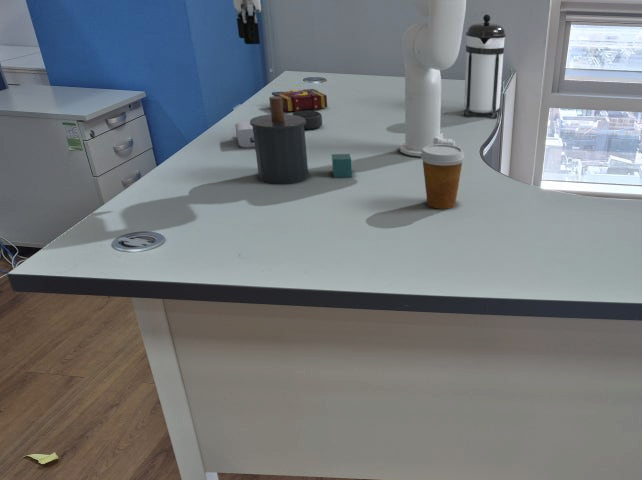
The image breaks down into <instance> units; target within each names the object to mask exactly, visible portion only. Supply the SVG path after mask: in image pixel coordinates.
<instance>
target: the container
mask: <svg viewBox="0 0 642 480" xmlns="http://www.w3.org/2000/svg"><path fill="white" fill-rule="evenodd" d="M253 134H254V142H255V147H254V148H255V157H256V164H257V171H258V178H259V180H260V181H262V182H264V183H267V184H274V185H288V184H289V185H290V184H296V183H300V182H302V181H305V180H307V179H308V178H309V168H308V167H309V166H308V155H307V144H306V131H305V129H304V125H303V126H301V127H298V128H293V129H283V130H269V129H260V128H256V127H253Z"/></svg>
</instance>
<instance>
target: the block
mask: <svg viewBox="0 0 642 480" xmlns="http://www.w3.org/2000/svg"><path fill="white" fill-rule="evenodd" d="M331 164H332V165H331V166H332V176H333V178H352V177H353V168H352V167H353V166H352V165H353V164H352V157H351V154H350V153H333V154H332V153H331Z"/></svg>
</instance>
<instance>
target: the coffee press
mask: <svg viewBox="0 0 642 480" xmlns="http://www.w3.org/2000/svg"><path fill="white" fill-rule="evenodd" d="M482 18H483V21H484V22H476V23H473V24H471V25H469V26H468V28H467V31H465V36H466V44H465V52H466V53H465V54H466V55H465V72H464V73H465V75H464V78H465V79H464V97H463V98H464V103H463V104H464V105H463V106H464V111H463V116H464V117H467V118H468V117H469V116H470V115H471V114H472V113H477V114H478V113H479V114H489V115H490V117H491V118H492V119H497V118H498V113H499V111H500V105H501V93H502V78H503V67H504V65H503V64H504V53H505V49H506V48H505V39H506V37H507V33H506V32H505V29H504V27H503V26H502V25H500V24H498V23H491V15H489V14H485V15H484V16H483V17H482Z"/></svg>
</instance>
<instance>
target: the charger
mask: <svg viewBox="0 0 642 480" xmlns="http://www.w3.org/2000/svg"><path fill="white" fill-rule="evenodd" d="M234 127H235V134H236V139H237V142H238V145H239V147H241V148H255V142H254V134H253V126H252V125H251V124H250V121H238V122H236V123H235V124H234Z"/></svg>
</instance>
